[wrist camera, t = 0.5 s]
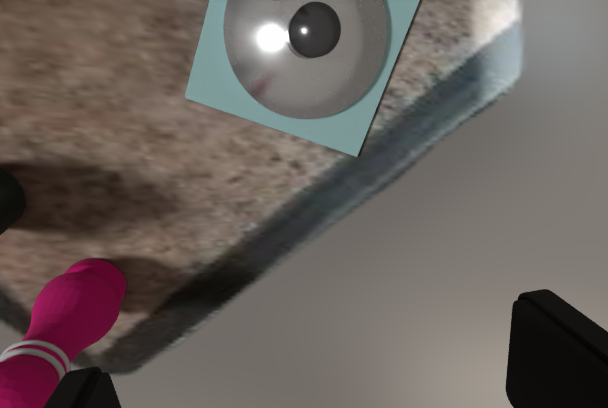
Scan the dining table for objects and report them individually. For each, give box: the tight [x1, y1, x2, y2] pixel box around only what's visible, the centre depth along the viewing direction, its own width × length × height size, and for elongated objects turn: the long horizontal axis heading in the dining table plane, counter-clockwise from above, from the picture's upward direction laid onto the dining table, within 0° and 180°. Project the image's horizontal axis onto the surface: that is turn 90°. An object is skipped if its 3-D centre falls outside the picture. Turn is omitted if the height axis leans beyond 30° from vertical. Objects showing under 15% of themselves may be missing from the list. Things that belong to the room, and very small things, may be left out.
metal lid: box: [223, 0, 387, 119], centre depth 33 cm, size 15×15×6 cm
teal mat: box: [185, 0, 420, 157], centre depth 35 cm, size 18×18×1 cm
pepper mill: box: [0, 259, 126, 408], centre depth 32 cm, size 7×7×20 cm
